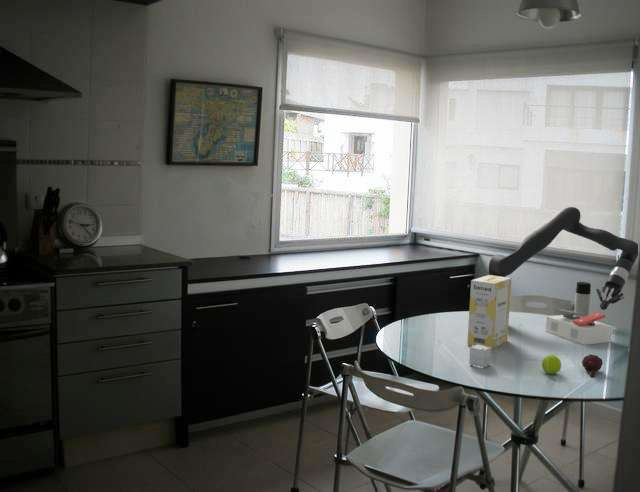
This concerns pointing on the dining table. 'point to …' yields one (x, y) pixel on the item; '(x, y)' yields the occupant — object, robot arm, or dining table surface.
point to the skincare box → (480, 355)
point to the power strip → (578, 330)
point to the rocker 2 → (589, 319)
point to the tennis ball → (551, 364)
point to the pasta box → (489, 311)
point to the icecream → (592, 364)
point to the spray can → (582, 298)
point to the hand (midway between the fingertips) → (602, 308)
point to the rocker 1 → (569, 312)
